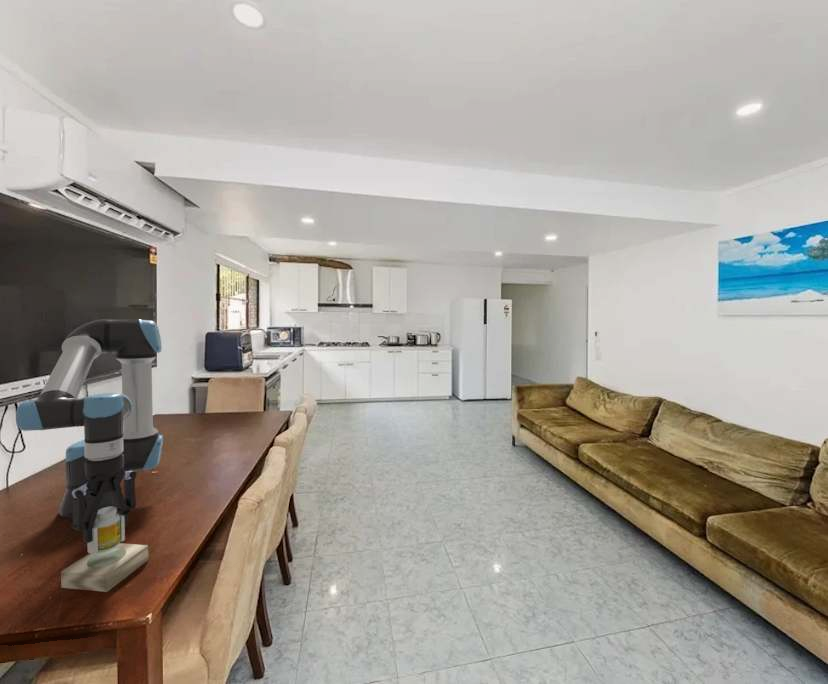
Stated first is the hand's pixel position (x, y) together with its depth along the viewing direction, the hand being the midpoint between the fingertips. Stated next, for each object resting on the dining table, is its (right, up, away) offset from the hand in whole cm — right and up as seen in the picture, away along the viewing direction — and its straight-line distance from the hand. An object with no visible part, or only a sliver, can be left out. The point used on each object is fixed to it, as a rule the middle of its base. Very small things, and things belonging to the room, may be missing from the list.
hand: (106, 545), depth 93 cm
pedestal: (0, -7, 0) cm, 7 cm away
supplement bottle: (0, 0, 0) cm, 0 cm away
